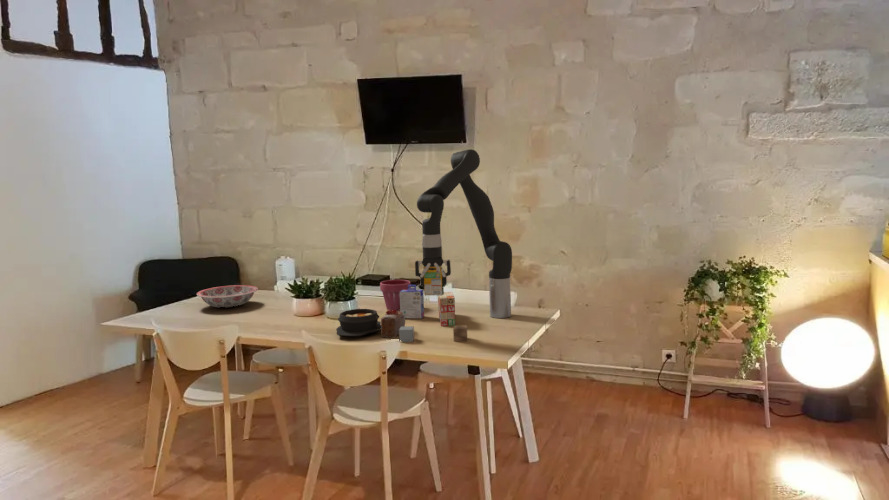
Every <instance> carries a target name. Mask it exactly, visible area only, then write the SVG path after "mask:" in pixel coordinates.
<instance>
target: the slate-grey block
mask: <svg viewBox="0 0 889 500" xmlns="http://www.w3.org/2000/svg"><path fill="white" fill-rule="evenodd" d="M414 329H415V328H414V326H404V327H400V329H399V334H398V335H399V336H398V337H399V341H400V340H401V341H402V342H401V343H413V342H414V340H415V331H414Z"/></svg>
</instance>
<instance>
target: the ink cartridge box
mask: <svg viewBox="0 0 889 500" xmlns="http://www.w3.org/2000/svg"><path fill="white" fill-rule="evenodd" d="M410 286H411V288H409V287H410ZM424 297H425V295H424V289H417V284H411V285H408V289H407V290H402V291H400V310H399V311H400V312H402V313H403V315H404V316H405V319H422V318H424V317H425V304H424V303H425V300H424Z"/></svg>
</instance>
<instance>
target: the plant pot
mask: <svg viewBox="0 0 889 500" xmlns="http://www.w3.org/2000/svg"><path fill="white" fill-rule="evenodd" d="M408 285H412V283H411V281H410V280H407V279H387V280H383V281H380V283H379V289H380V292H382V296H383V300H384V303H385V307H386V310H387V311H389V310H392V311H393V310H396V311H400V291H402V290H407V289H408ZM409 288H412V286H410V287H409Z"/></svg>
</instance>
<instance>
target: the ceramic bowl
mask: <svg viewBox="0 0 889 500" xmlns="http://www.w3.org/2000/svg"><path fill="white" fill-rule="evenodd" d="M258 290H259V289H258V287H257V286H255V285H254V286H253V285H249V284H247V285H246V284H240V285H239V284H235V285H223V286H222V285H221V286H216V287H215V286H214V287H210V288H206V289H201V290H199V291H198V292H196V296H197V297H200V298H201V300H202V301H203V302H204V303H205V304H207V305H209V306H211V307H215V308H220V307H225V308H233V306H234V307H239V306H242V305H244V304H246V303H247V302H249V301H250V300H251V299H252V297H253V296H254V294H255V292H257V291H258ZM238 305H239V306H238Z"/></svg>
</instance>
